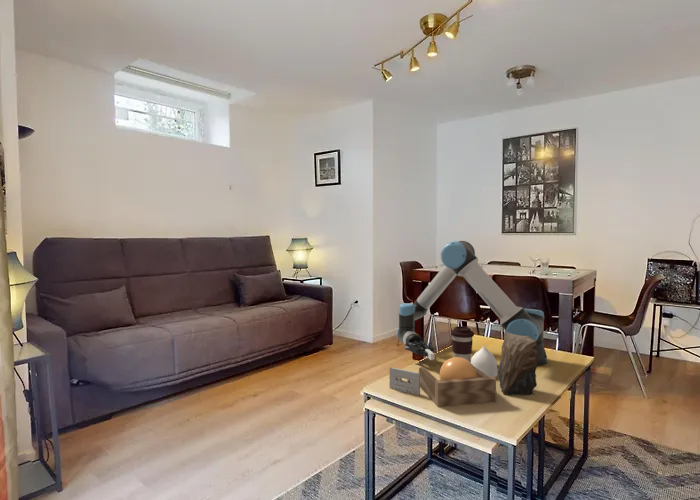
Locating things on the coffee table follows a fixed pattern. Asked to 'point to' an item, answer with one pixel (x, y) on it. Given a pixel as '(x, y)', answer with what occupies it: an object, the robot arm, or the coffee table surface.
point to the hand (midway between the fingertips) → (432, 356)
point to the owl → (518, 365)
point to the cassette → (407, 385)
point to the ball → (457, 369)
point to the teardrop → (485, 362)
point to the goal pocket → (458, 389)
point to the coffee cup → (462, 342)
